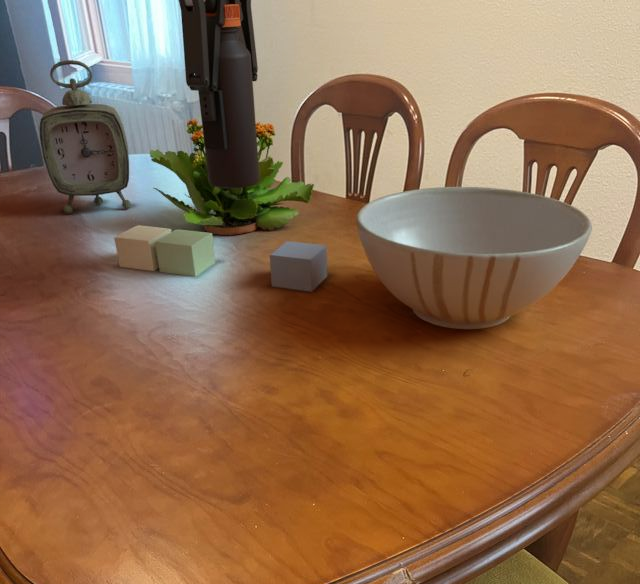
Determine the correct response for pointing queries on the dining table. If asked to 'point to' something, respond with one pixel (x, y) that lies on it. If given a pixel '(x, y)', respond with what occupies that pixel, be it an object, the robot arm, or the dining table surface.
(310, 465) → the dining table surface
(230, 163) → the dark brown bottle
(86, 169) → the tabletop clock
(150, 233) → the cream block
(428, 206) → the decorative bowl
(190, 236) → the sage block
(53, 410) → the dining table surface
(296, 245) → the slate block
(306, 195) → the potted flower
